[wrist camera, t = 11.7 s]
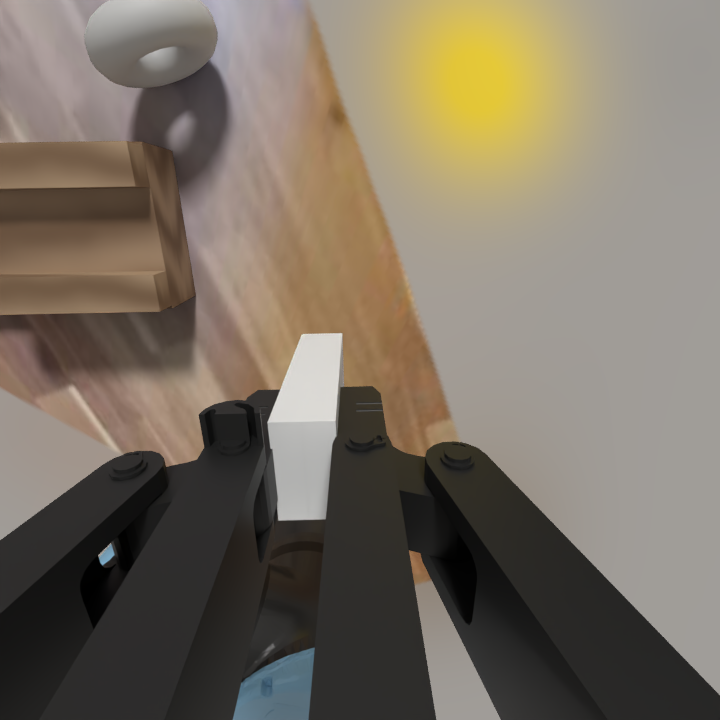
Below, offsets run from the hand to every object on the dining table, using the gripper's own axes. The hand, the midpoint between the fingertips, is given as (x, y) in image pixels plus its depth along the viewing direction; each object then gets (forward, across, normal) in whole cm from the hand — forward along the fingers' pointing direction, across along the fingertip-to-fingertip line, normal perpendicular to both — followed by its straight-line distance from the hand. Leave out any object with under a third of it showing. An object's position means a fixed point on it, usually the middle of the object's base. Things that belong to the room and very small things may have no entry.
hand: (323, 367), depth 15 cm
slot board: (+29, +24, -4) cm, 38 cm away
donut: (+30, +14, -18) cm, 37 cm away
